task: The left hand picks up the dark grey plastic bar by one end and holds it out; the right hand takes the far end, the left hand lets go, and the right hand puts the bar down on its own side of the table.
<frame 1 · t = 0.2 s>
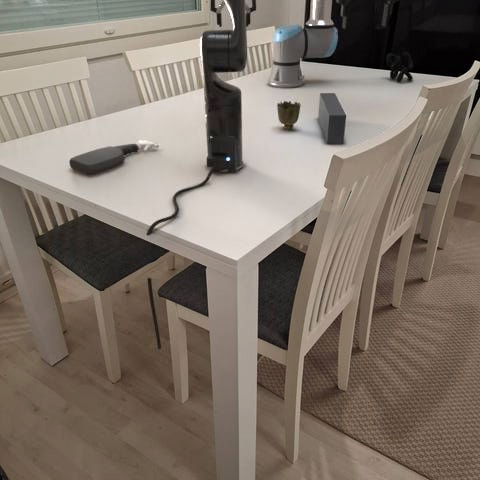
left hand: (233, 26, 142), 29 cm above the table, tool pointing down, fingers open, 8 cm apart
right hand: (364, 27, 144), 28 cm above the table, tool pointing down, fingers open, 13 cm apart
cup: (287, 129, 145), on the table
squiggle: (399, 80, 200), on the table
bar: (329, 130, 143), on the table
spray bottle: (117, 159, 125), on the table
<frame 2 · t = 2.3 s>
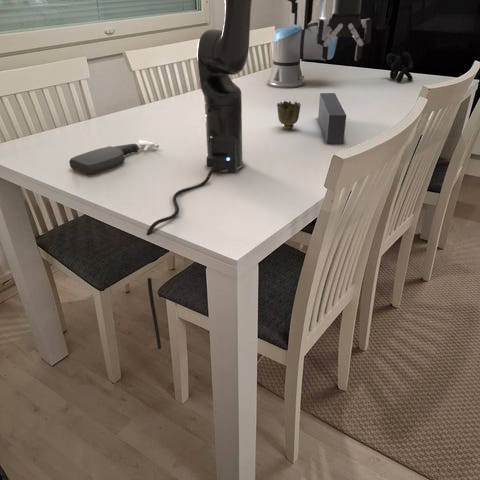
left hand: (340, 60, 124), 23 cm above the table, tool pointing down, fingers open, 8 cm apart
right hand: (315, 24, 152), 28 cm above the table, tool pointing down, fingers open, 13 cm apart
nothing on the table moved.
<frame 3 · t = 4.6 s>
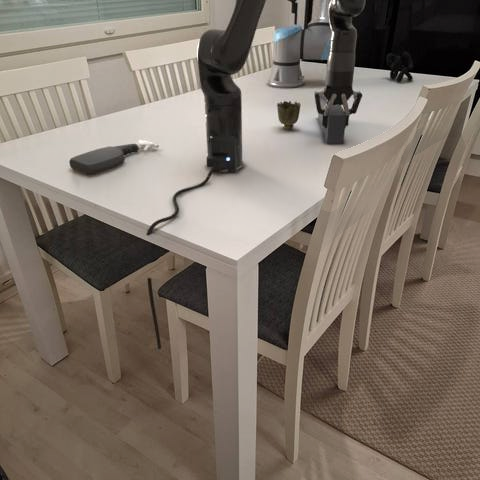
left hand: (334, 127, 133), 4 cm above the table, tool pointing down, fingers closed on bar, 5 cm apart
right hand: (315, 24, 152), 28 cm above the table, tool pointing down, fingers open, 13 cm apart
bar: (329, 130, 143), on the table, touching left hand
everything else where it was.
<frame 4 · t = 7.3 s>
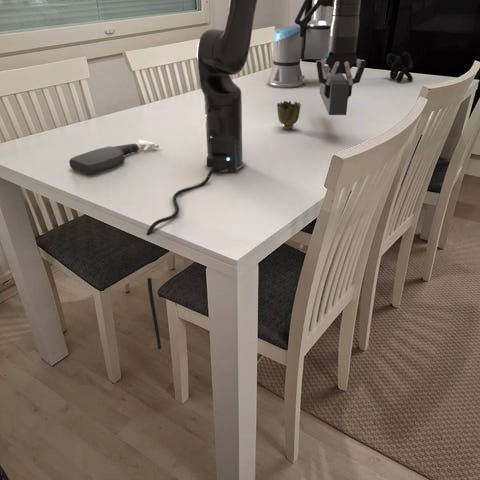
left hand: (337, 97, 129), 13 cm above the table, tool pointing down, fingers closed on bar, 5 cm apart
right hand: (324, 48, 145), 22 cm above the table, tool pointing down, fingers open, 13 cm apart
bar: (331, 103, 139), point 9 cm above the table, touching left hand
everything else where it was.
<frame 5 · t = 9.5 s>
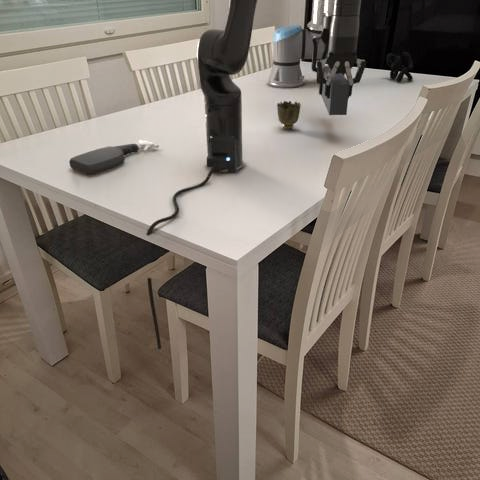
left hand: (337, 97, 129), 13 cm above the table, tool pointing down, fingers closed on bar, 5 cm apart
right hand: (328, 93, 146), 9 cm above the table, tool pointing down, fingers closed on bar, 5 cm apart
bar: (332, 103, 139), point 9 cm above the table, touching left hand, right hand
everything else where it was.
when the left hand's fingers open (13 cm above the table, at t = 10.2 s): bar stays where it is, held by the right hand.
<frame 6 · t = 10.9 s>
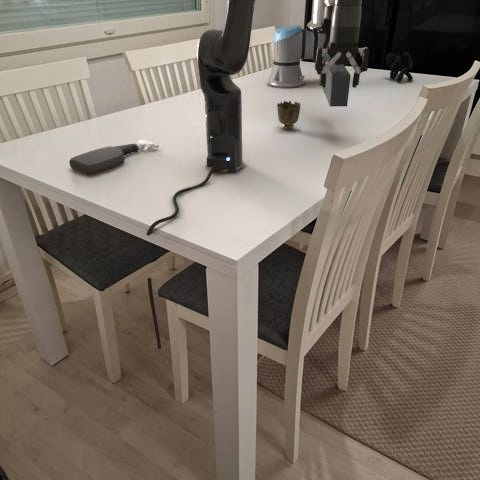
left hand: (338, 87, 126), 16 cm above the table, tool pointing down, fingers open, 8 cm apart
right hand: (329, 84, 145), 12 cm above the table, tool pointing down, fingers closed on bar, 5 cm apart
bar: (332, 94, 138), point 11 cm above the table, touching right hand
everything else where it was.
when the right hand's fingers open (2 cm above the table, at t = 14.6 s): bar drops 1 cm, on the table.
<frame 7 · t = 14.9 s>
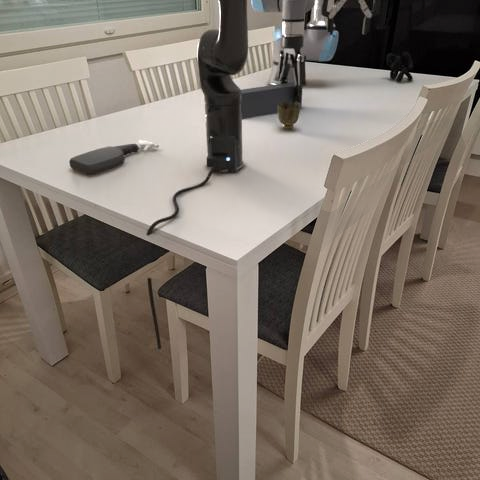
left hand: (347, 34, 115), 30 cm above the table, tool pointing down, fingers open, 8 cm apart
right hand: (289, 102, 164), 2 cm above the table, tool pointing down, fingers open, 8 cm apart
bar: (268, 111, 162), on the table
everything else where it was.
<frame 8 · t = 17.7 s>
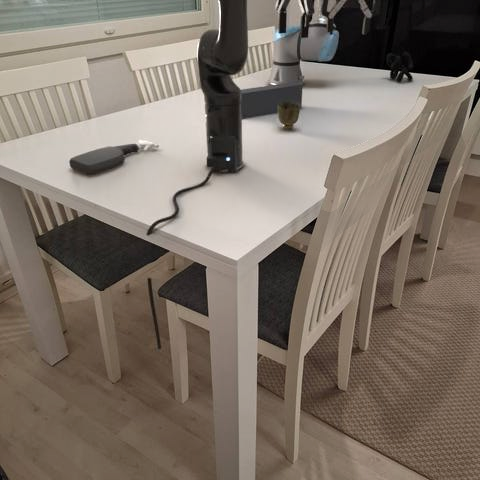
left hand: (347, 34, 115), 30 cm above the table, tool pointing down, fingers open, 8 cm apart
right hand: (292, 35, 152), 25 cm above the table, tool pointing down, fingers open, 13 cm apart
nothing on the table moved.
at the end: bar inside the target area (9.2 cm from its centre), on the table; the left hand is holding nothing; the right hand is holding nothing; bar at rest at the end (0.0 cm/s) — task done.
